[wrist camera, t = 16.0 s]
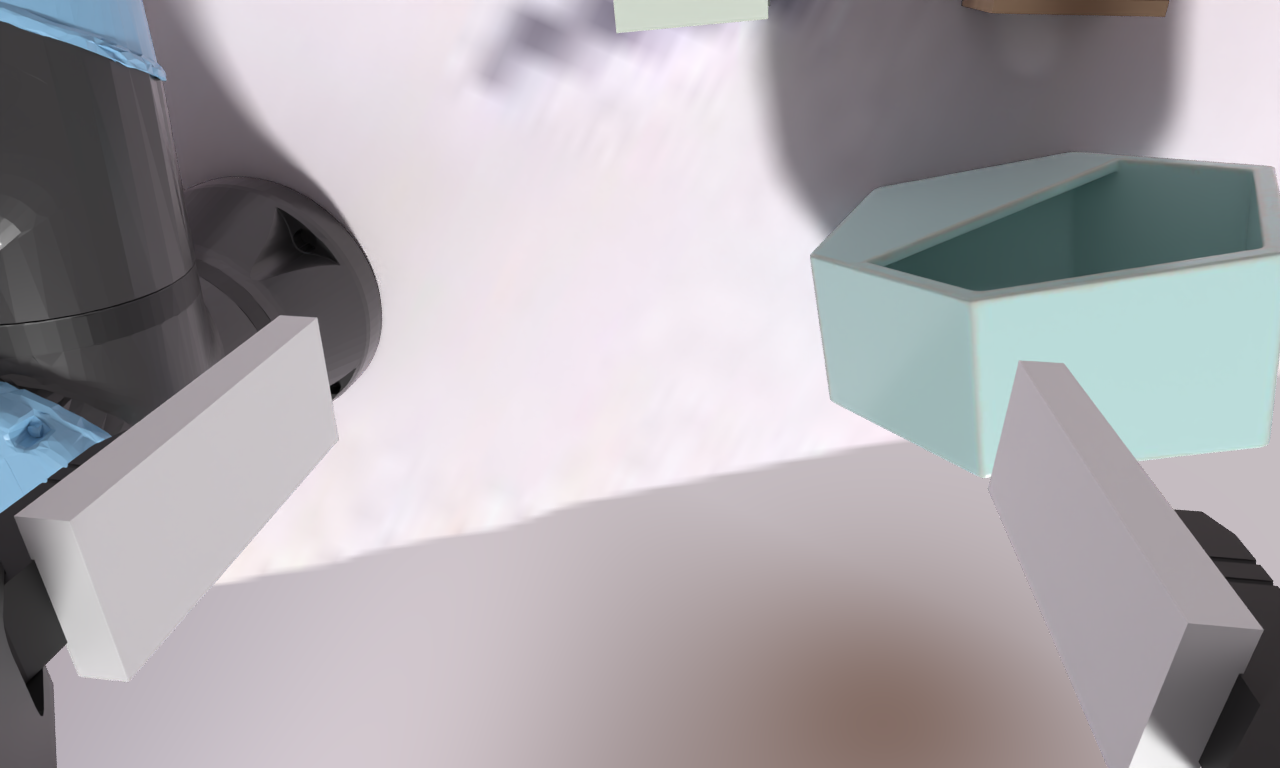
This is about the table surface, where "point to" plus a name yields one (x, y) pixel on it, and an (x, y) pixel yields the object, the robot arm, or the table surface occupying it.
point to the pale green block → (684, 13)
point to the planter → (1060, 301)
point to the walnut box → (1072, 7)
